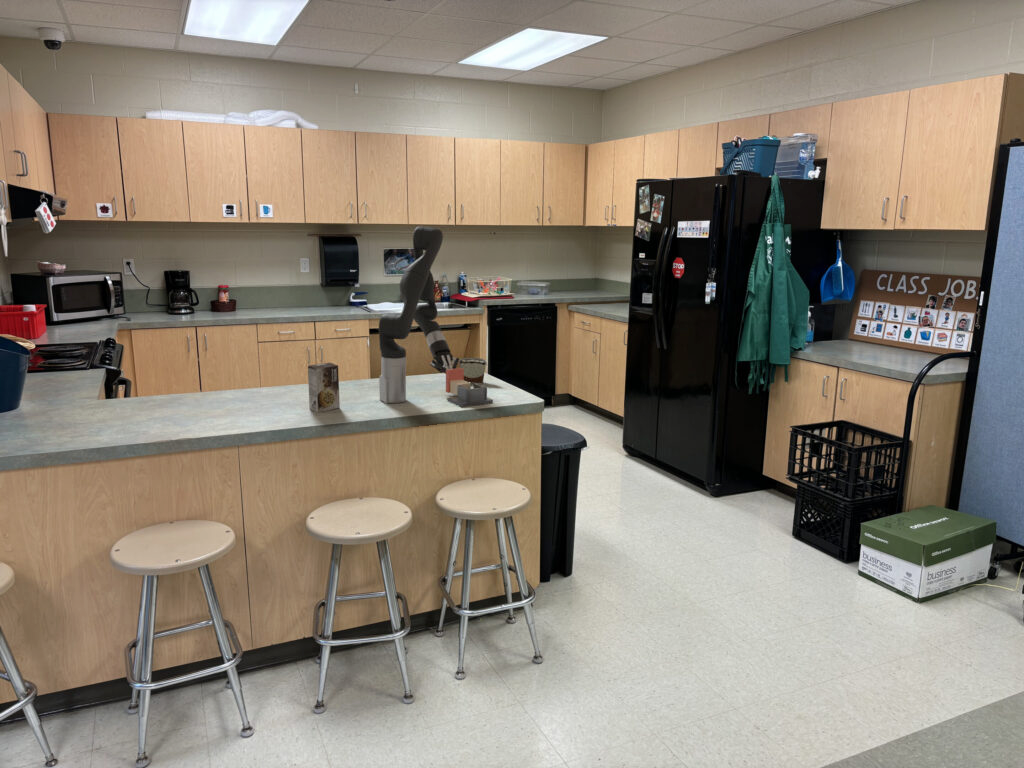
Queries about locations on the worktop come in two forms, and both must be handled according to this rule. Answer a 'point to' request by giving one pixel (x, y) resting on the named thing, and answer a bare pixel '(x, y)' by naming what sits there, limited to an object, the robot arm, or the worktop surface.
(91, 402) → the worktop surface
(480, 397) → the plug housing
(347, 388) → the worktop surface
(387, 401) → the robot arm
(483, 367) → the food container
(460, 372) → the red plug
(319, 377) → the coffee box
